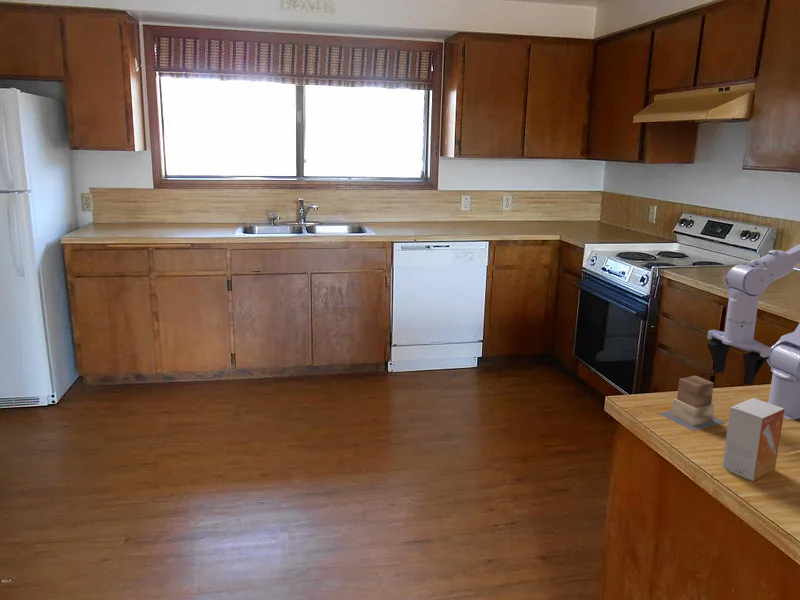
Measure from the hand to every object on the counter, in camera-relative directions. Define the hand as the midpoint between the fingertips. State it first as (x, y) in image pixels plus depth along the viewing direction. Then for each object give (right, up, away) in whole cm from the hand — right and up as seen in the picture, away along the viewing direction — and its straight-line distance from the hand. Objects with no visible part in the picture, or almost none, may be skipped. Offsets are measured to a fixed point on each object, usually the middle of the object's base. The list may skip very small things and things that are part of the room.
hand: (733, 377), depth 143 cm
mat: (-8, -10, +2) cm, 13 cm away
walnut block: (-8, -6, +1) cm, 10 cm away
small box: (-7, -16, -20) cm, 26 cm away
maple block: (-8, -9, +2) cm, 13 cm away
